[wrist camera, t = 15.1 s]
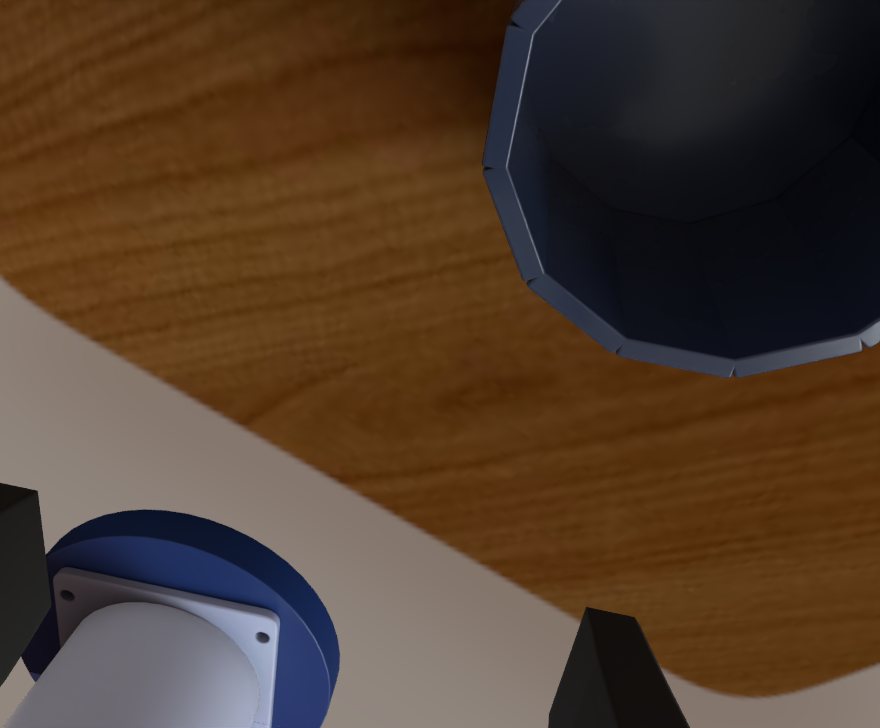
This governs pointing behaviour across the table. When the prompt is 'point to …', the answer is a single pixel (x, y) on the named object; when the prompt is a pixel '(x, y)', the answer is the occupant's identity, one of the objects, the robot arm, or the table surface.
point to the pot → (695, 175)
